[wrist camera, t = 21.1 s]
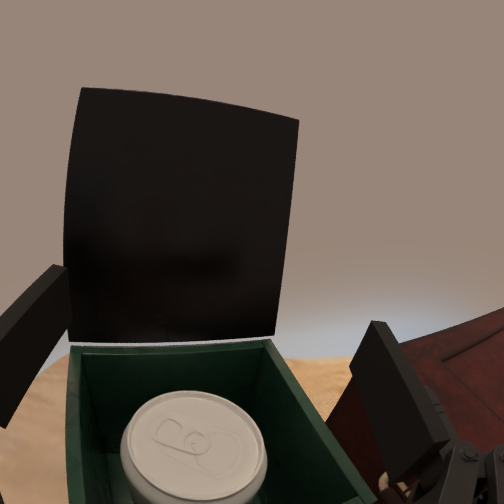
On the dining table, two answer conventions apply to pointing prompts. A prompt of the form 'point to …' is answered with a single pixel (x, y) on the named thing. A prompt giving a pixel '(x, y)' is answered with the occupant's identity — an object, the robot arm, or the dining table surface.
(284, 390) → the green cube bin
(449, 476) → the robot arm
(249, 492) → the beverage can
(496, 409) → the storage box
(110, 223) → the black flat panel
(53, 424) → the dining table surface
